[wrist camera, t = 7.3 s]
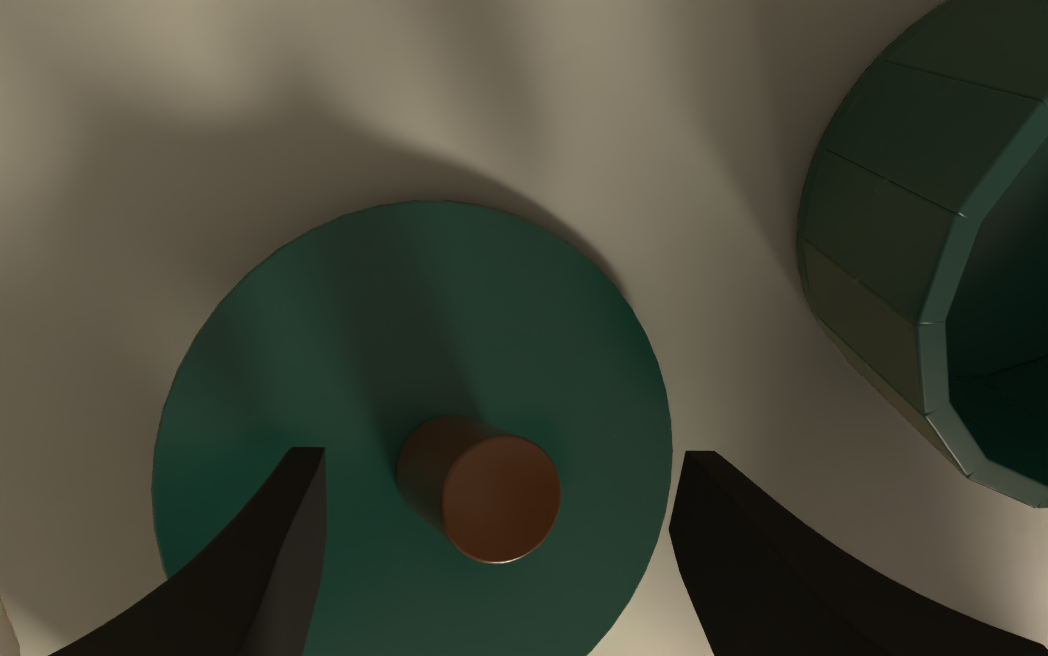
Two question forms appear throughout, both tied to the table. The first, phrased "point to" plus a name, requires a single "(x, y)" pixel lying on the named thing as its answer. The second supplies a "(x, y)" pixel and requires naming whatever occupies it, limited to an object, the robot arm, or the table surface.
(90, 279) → the table surface
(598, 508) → the lid
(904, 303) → the pot
